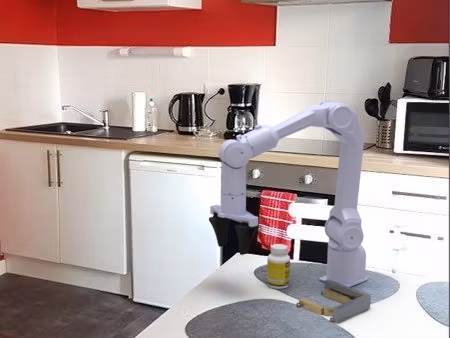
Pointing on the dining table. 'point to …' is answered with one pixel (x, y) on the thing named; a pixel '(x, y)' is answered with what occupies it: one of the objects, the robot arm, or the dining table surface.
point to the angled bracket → (348, 296)
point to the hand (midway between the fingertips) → (233, 249)
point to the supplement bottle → (278, 267)
